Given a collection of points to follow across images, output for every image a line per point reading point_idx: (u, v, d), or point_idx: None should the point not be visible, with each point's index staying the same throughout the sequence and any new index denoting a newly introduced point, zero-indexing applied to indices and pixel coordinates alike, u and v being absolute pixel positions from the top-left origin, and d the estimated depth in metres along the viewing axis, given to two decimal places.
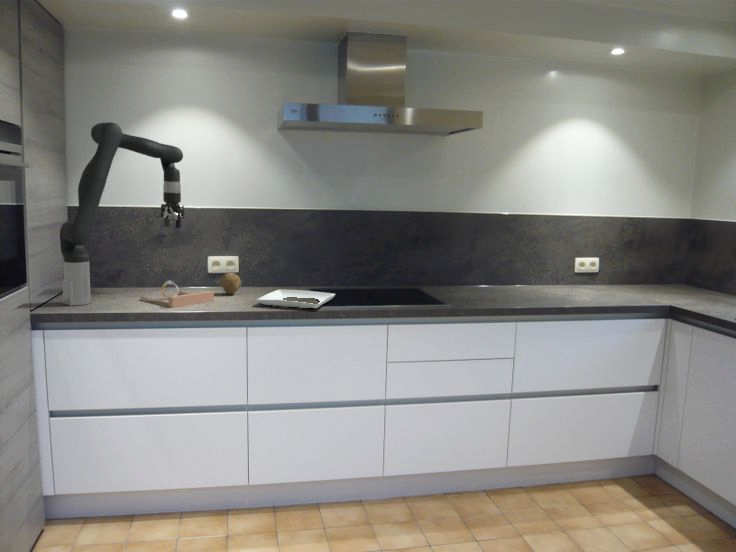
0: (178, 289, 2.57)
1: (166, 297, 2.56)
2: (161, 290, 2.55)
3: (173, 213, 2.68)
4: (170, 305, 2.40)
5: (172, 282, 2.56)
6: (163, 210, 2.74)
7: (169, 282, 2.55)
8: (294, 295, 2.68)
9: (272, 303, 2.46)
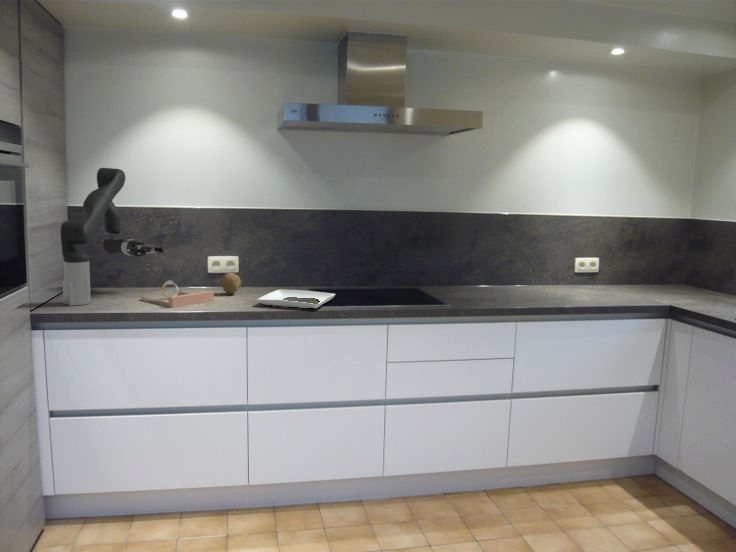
0: (178, 289, 2.57)
1: (166, 297, 2.56)
2: (161, 290, 2.55)
3: (152, 245, 2.67)
4: (170, 305, 2.40)
5: (172, 282, 2.56)
6: None
7: (169, 282, 2.55)
8: (294, 295, 2.68)
9: (272, 303, 2.46)
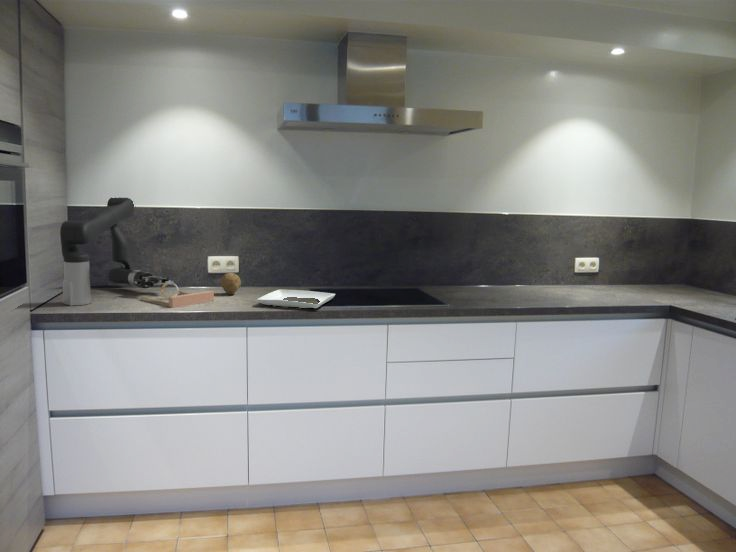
0: (178, 289, 2.57)
1: (166, 297, 2.56)
2: (161, 290, 2.55)
3: None
4: (170, 305, 2.40)
5: (172, 282, 2.56)
6: None
7: (169, 282, 2.55)
8: (294, 295, 2.68)
9: (272, 303, 2.46)
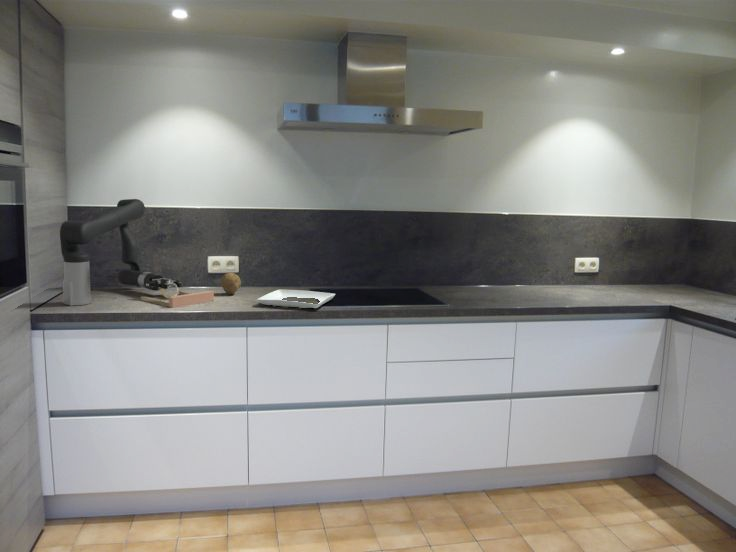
0: (178, 289, 2.57)
1: (166, 297, 2.56)
2: (161, 290, 2.55)
3: (169, 279, 2.60)
4: (170, 305, 2.40)
5: (172, 282, 2.56)
6: None
7: (169, 282, 2.55)
8: (294, 295, 2.68)
9: (272, 303, 2.46)
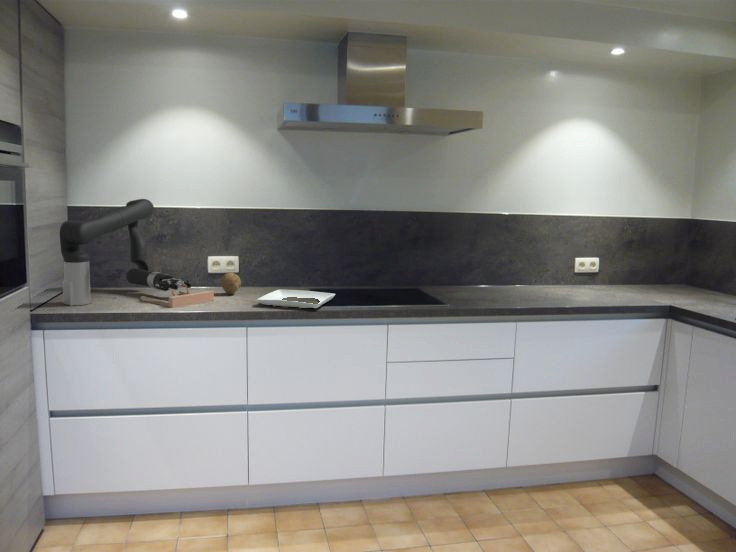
0: (188, 290, 2.53)
1: None
2: (171, 291, 2.51)
3: (179, 279, 2.56)
4: (170, 305, 2.40)
5: (182, 282, 2.52)
6: None
7: (179, 282, 2.50)
8: (294, 295, 2.68)
9: (272, 303, 2.46)
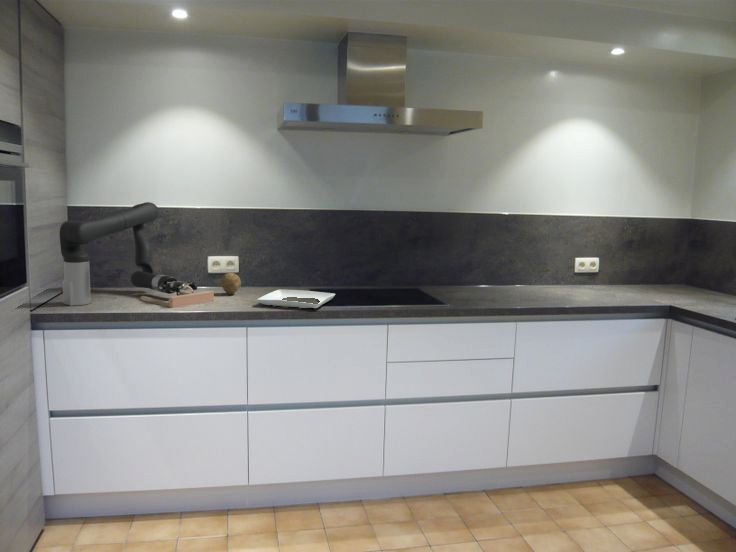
0: (193, 292, 2.51)
1: None
2: (176, 293, 2.49)
3: None
4: (170, 305, 2.40)
5: (187, 285, 2.50)
6: None
7: (184, 285, 2.48)
8: (294, 295, 2.68)
9: (272, 303, 2.46)
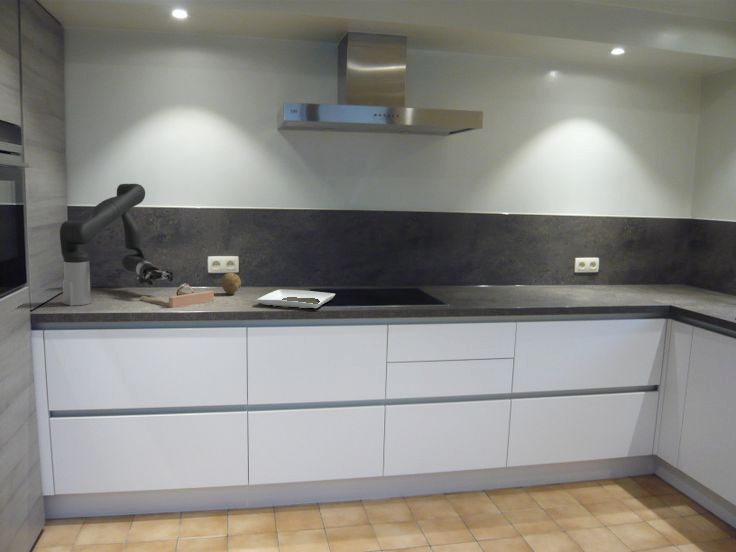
0: (193, 292, 2.51)
1: None
2: (176, 293, 2.49)
3: (162, 271, 2.60)
4: (170, 305, 2.40)
5: (187, 285, 2.50)
6: None
7: (184, 285, 2.48)
8: (294, 295, 2.68)
9: (272, 303, 2.46)
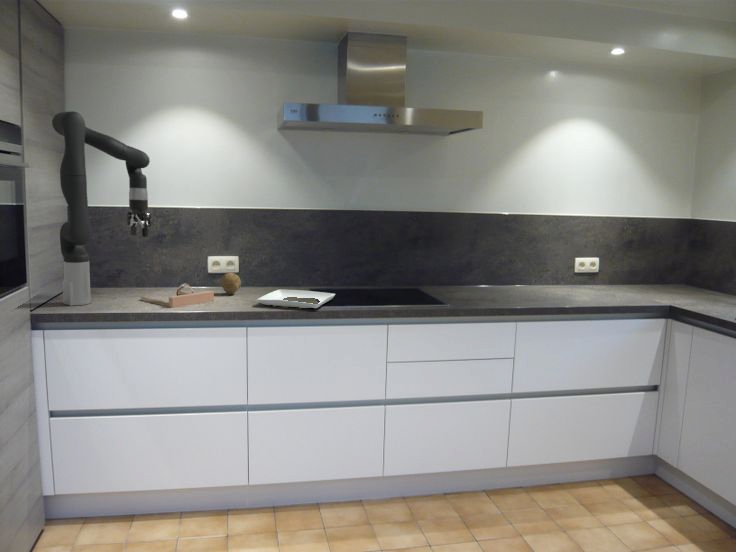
0: (193, 292, 2.51)
1: None
2: (176, 293, 2.49)
3: (139, 221, 2.55)
4: (170, 305, 2.40)
5: (187, 285, 2.50)
6: (130, 218, 2.61)
7: (184, 285, 2.48)
8: (294, 295, 2.68)
9: (272, 303, 2.46)
